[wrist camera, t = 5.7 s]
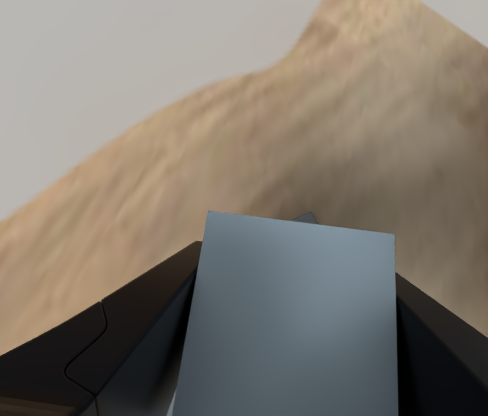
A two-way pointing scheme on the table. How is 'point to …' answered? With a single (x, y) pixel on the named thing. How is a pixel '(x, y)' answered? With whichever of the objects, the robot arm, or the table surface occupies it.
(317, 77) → the table surface
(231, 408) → the pillar
